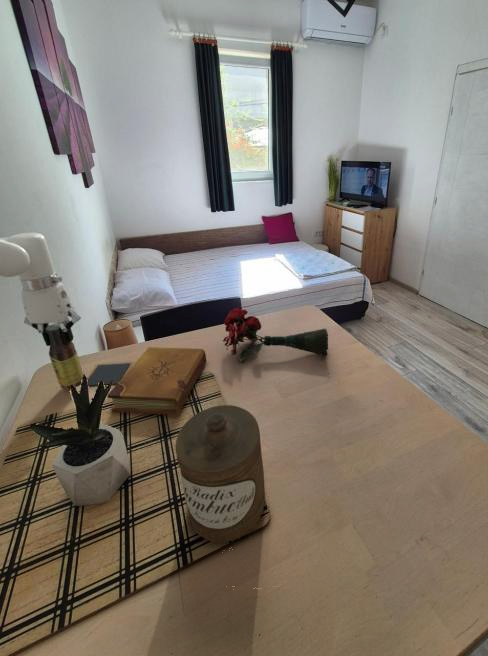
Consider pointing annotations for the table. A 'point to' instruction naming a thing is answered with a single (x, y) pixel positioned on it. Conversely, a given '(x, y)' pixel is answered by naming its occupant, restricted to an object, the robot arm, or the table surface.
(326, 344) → the carnation
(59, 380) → the sauce bottle
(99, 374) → the mat
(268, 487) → the table surface
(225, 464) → the wooden container
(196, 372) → the diary
